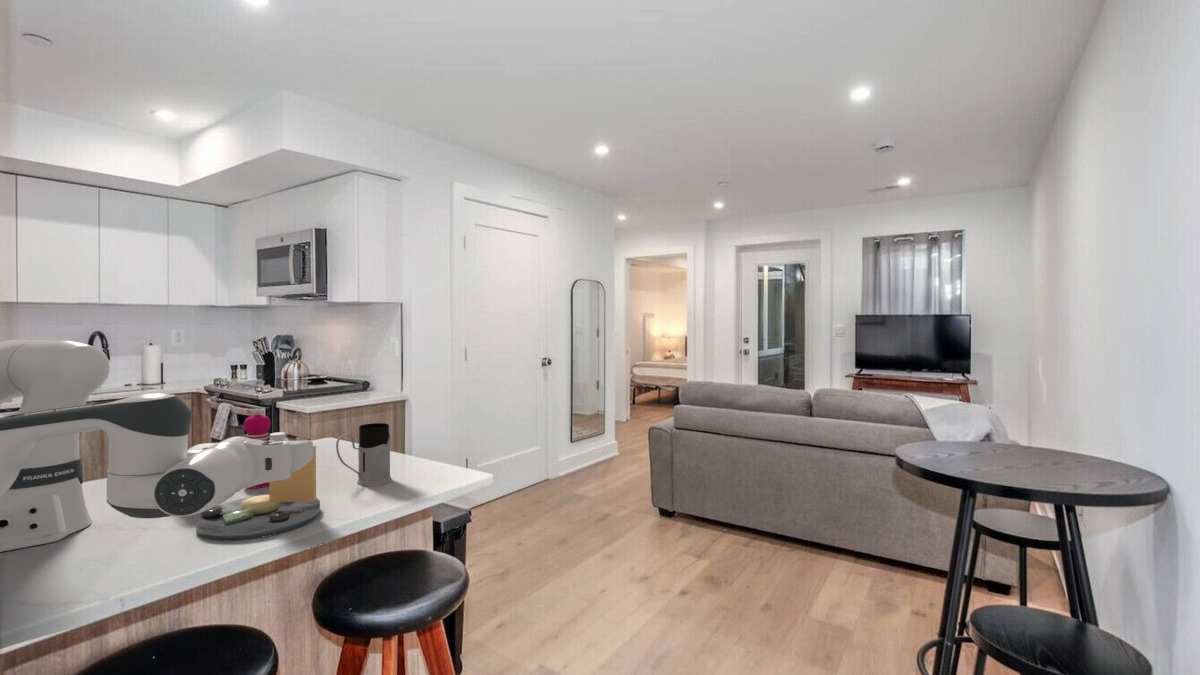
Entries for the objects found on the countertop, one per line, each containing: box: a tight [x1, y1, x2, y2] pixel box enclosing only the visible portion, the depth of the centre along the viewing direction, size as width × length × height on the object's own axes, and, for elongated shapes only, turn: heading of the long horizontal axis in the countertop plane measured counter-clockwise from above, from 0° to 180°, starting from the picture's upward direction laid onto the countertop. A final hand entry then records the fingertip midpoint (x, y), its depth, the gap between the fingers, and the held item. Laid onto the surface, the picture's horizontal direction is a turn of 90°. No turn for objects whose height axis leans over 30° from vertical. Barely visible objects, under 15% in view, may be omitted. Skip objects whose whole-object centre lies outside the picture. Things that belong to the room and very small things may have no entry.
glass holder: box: [335, 422, 393, 487], centre depth 148 cm, size 9×14×15 cm, turn 136°
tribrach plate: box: [195, 496, 321, 541], centre depth 122 cm, size 23×23×4 cm
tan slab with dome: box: [242, 444, 317, 515], centre depth 122 cm, size 14×7×14 cm, turn 100°
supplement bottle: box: [268, 431, 289, 441], centre depth 161 cm, size 6×6×10 cm
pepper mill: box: [243, 408, 272, 489], centre depth 146 cm, size 7×7×20 cm
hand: (268, 444), depth 110 cm, fingers closed
